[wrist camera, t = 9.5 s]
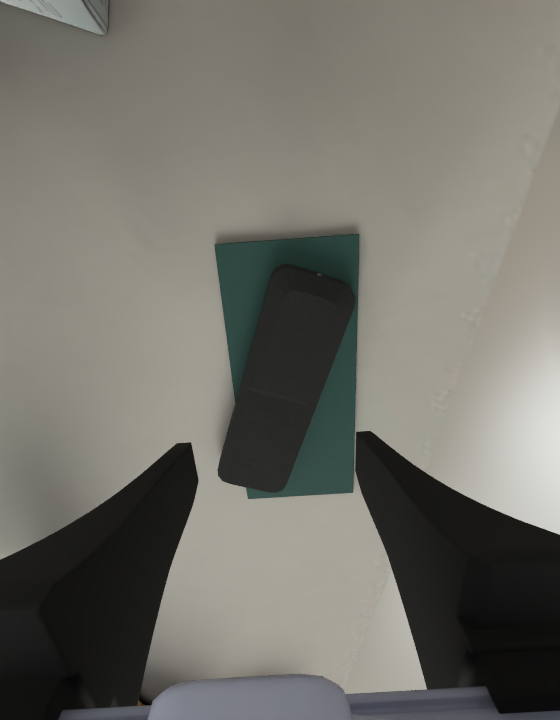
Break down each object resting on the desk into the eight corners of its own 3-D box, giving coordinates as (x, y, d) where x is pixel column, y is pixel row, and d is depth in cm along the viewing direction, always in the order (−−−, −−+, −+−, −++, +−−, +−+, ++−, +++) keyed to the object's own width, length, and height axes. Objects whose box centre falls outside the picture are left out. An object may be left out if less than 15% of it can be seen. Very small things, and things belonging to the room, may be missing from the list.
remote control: (282, 478, 21) (357, 284, 16) (282, 498, 20) (366, 288, 15) (218, 464, 21) (275, 258, 16) (213, 482, 19) (274, 259, 14)
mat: (352, 488, 22) (353, 492, 21) (248, 495, 22) (248, 499, 21) (357, 234, 16) (359, 233, 15) (215, 244, 16) (214, 244, 16)
